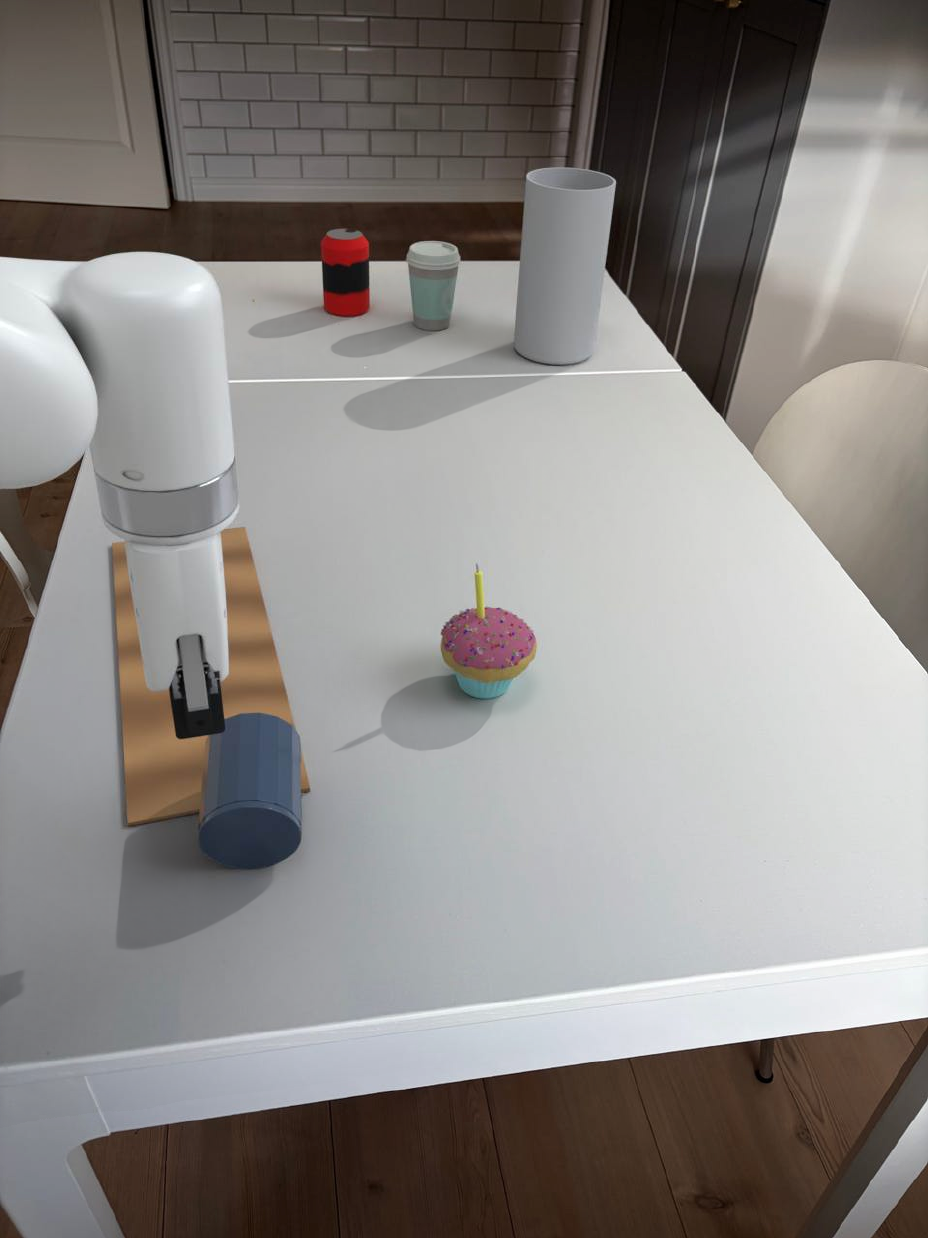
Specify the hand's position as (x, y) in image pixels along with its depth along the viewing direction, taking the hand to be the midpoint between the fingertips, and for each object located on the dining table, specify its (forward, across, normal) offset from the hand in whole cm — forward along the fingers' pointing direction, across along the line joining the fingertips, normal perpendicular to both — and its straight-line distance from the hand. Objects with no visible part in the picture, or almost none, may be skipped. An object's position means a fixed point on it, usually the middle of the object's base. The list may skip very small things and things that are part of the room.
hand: (200, 727), depth 66 cm
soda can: (+12, -108, +33) cm, 113 cm away
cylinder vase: (+11, -85, +60) cm, 104 cm away
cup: (+9, +2, +2) cm, 10 cm away
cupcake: (+12, -13, +26) cm, 31 cm away
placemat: (+12, -24, +1) cm, 27 cm away
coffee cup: (+11, -99, +45) cm, 109 cm away
